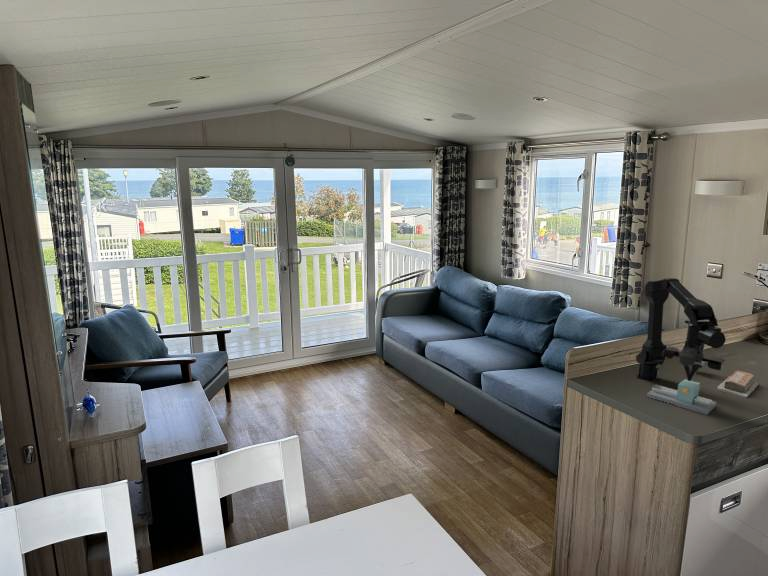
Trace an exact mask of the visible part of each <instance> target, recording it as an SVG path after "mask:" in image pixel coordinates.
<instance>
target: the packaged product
mask: <svg viewBox="0 0 768 576" xmlns="http://www.w3.org/2000/svg"><path fill="white" fill-rule="evenodd" d="M754 380H755V375H753V374H752V373H750V372H745V371H742V370H735V371H734V372H733V373H732V374H731V375H729V376H727V378H726V379H725V380H724V381H722V383H720V384H719V385H718V386H717V388H716V390H717V391H719V392H722V393H727V394H730V395H735V396H739V397H742V398H748V397H749V396H750V394H751V393H753V392H754V391H755V389H756V388H757V387H758V385H759V382H755V381H754Z"/></svg>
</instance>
